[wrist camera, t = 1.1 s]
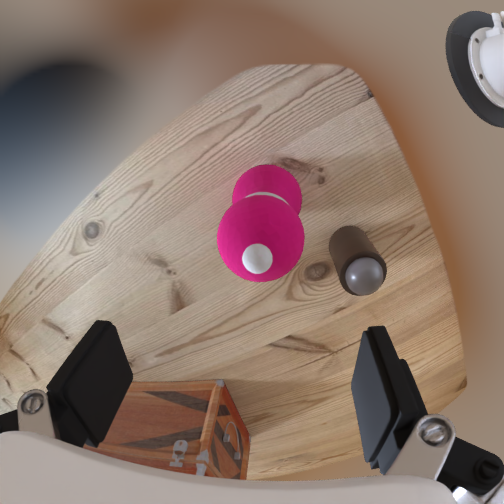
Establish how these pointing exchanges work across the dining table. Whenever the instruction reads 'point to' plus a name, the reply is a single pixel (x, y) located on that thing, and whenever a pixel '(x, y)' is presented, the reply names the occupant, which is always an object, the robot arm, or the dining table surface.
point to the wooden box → (180, 429)
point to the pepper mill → (262, 225)
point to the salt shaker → (357, 261)
